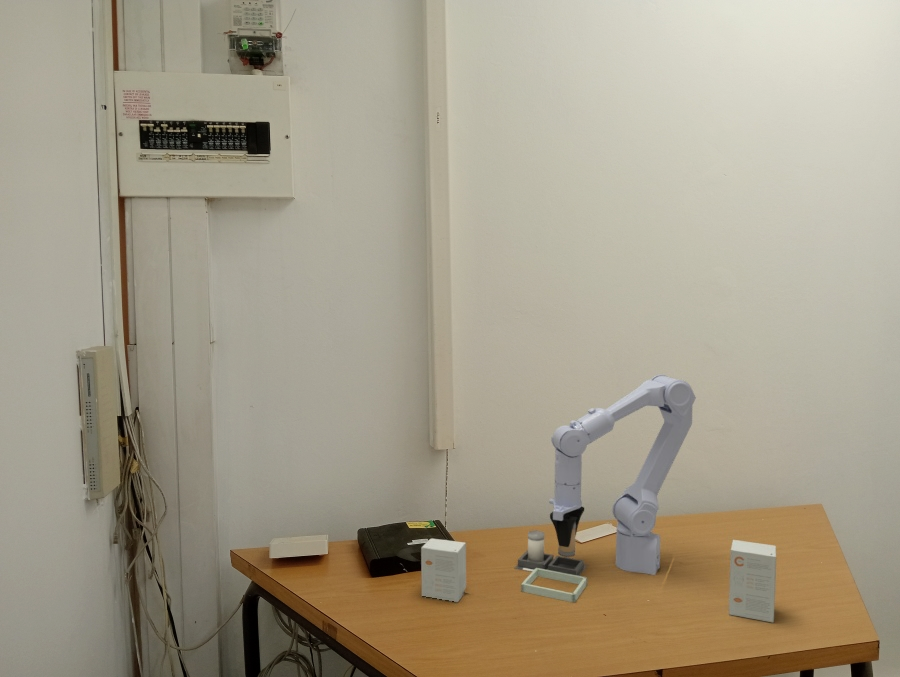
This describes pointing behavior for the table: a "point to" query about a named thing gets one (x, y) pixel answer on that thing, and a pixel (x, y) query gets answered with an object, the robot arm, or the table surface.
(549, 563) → the tray
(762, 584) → the small box
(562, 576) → the tray
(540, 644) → the table surface
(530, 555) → the cylinder
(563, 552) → the cylinder
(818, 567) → the table surface
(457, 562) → the small box
